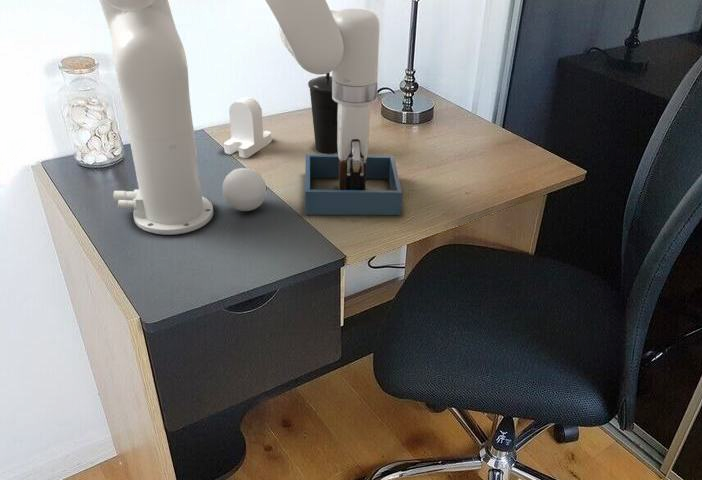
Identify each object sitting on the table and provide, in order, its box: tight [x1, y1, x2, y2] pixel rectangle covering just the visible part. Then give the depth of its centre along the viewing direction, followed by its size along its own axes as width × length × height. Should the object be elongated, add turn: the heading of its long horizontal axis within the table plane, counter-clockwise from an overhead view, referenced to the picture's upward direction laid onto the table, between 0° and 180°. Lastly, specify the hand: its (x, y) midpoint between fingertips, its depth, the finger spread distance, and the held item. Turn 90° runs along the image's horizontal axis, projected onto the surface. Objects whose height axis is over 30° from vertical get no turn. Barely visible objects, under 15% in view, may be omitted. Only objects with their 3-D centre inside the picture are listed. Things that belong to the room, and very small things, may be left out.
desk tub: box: [304, 154, 403, 216], centre depth 119 cm, size 17×15×4 cm
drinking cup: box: [307, 72, 338, 154], centre depth 130 cm, size 8×8×20 cm
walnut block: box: [338, 155, 366, 190], centre depth 118 cm, size 5×5×8 cm
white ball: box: [221, 167, 268, 212], centre depth 112 cm, size 10×7×7 cm
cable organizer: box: [223, 96, 272, 159], centre depth 130 cm, size 5×10×10 cm, turn 159°
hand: (353, 181), depth 118 cm, fingers open, 9 cm apart
